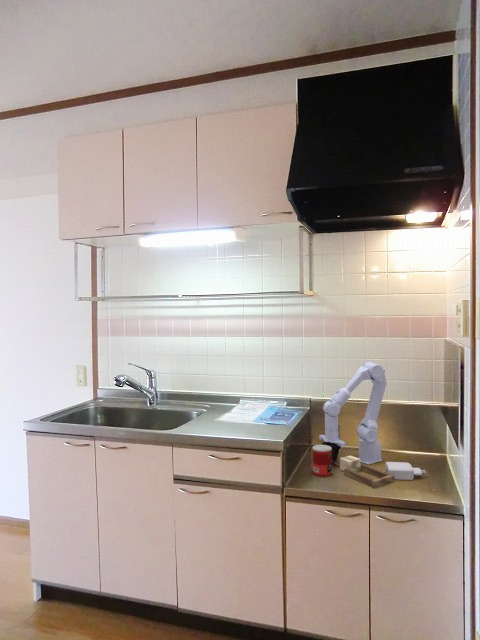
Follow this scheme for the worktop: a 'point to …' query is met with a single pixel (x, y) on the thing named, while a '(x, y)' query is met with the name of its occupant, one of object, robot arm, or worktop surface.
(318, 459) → the canned food
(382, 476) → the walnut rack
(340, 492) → the worktop surface
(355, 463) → the cream grey uneven dumbbell
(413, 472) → the charger
